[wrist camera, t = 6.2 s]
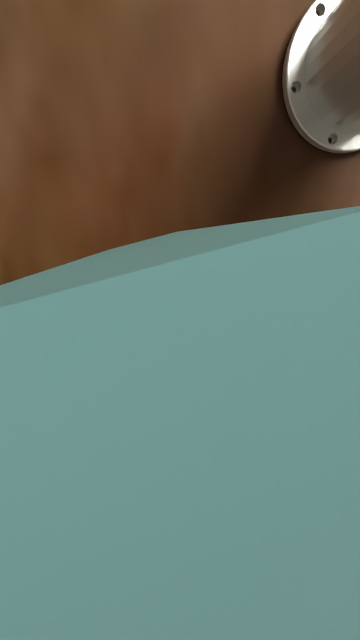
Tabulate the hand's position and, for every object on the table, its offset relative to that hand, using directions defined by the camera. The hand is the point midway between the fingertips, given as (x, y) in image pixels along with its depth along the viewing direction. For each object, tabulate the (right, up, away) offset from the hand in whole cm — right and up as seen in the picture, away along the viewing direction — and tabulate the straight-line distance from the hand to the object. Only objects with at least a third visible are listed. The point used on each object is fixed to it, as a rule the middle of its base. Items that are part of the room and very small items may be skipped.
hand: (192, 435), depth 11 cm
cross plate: (0, +1, +4) cm, 4 cm away
